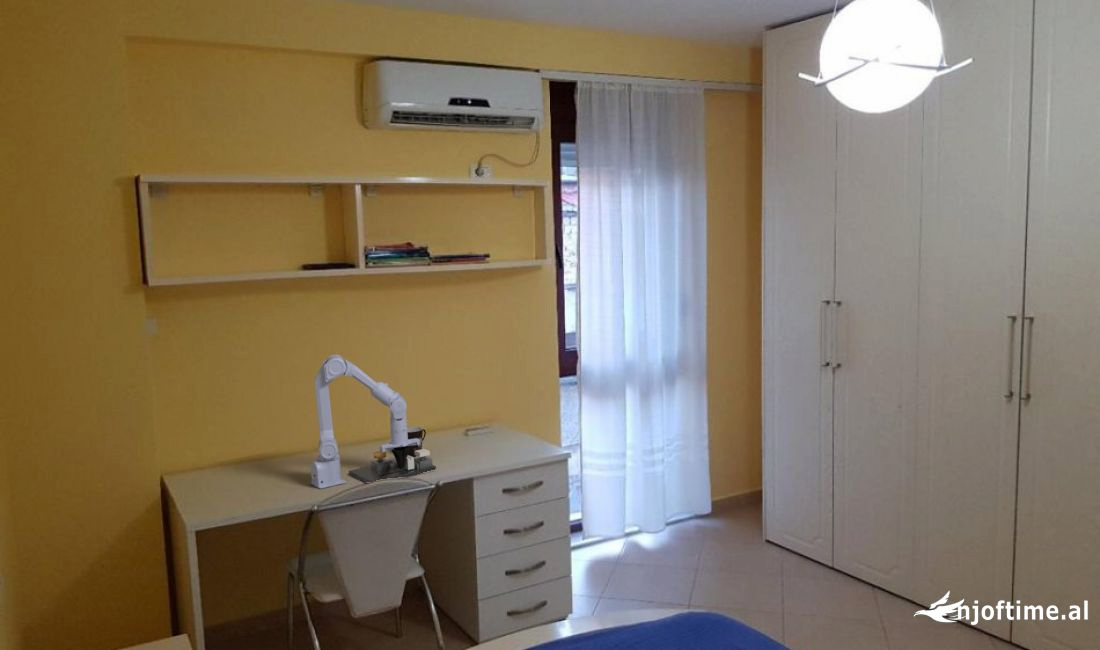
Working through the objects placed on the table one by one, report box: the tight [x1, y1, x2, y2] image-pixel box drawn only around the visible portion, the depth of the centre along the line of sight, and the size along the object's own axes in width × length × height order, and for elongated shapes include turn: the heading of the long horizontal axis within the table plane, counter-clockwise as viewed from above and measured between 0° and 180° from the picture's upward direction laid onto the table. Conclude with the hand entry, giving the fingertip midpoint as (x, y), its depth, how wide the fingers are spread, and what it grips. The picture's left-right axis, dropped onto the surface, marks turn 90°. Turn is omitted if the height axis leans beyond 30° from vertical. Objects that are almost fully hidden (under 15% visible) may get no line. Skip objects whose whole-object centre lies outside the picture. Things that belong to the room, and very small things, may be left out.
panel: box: [348, 456, 437, 483], centre depth 294 cm, size 25×18×4 cm
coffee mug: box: [407, 426, 427, 458], centre depth 318 cm, size 12×9×10 cm
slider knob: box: [404, 455, 415, 470], centre depth 292 cm, size 2×4×4 cm, turn 38°
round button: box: [373, 450, 387, 462], centre depth 296 cm, size 4×4×4 cm
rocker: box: [387, 456, 397, 464], centre depth 300 cm, size 6×4×1 cm, turn 128°
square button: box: [414, 448, 431, 460], centre depth 296 cm, size 4×4×4 cm
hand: (401, 468), depth 291 cm, fingers closed
